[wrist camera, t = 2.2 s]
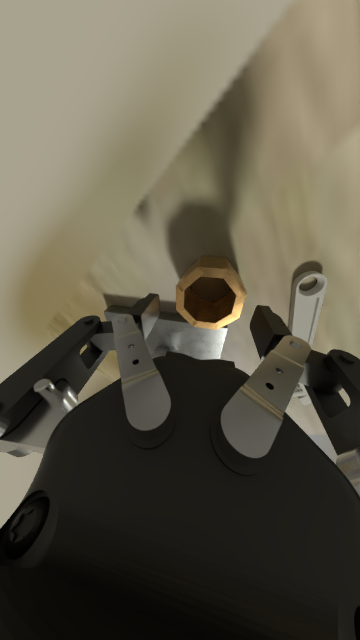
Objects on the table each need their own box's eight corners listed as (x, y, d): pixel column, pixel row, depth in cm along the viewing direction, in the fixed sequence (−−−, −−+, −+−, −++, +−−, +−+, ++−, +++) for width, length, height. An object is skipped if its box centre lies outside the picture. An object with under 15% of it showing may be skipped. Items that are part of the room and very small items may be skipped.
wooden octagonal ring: (244, 258, 16) (253, 271, 12) (230, 309, 19) (234, 332, 15) (186, 254, 17) (176, 265, 13) (184, 303, 20) (176, 324, 16)
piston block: (226, 320, 20) (231, 365, 14) (211, 378, 28) (210, 425, 22) (111, 305, 23) (70, 337, 17) (127, 362, 31) (104, 399, 25)
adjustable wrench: (290, 271, 16) (298, 276, 15) (367, 261, 14) (384, 266, 13) (267, 398, 29) (269, 407, 27) (305, 401, 27) (311, 411, 25)
